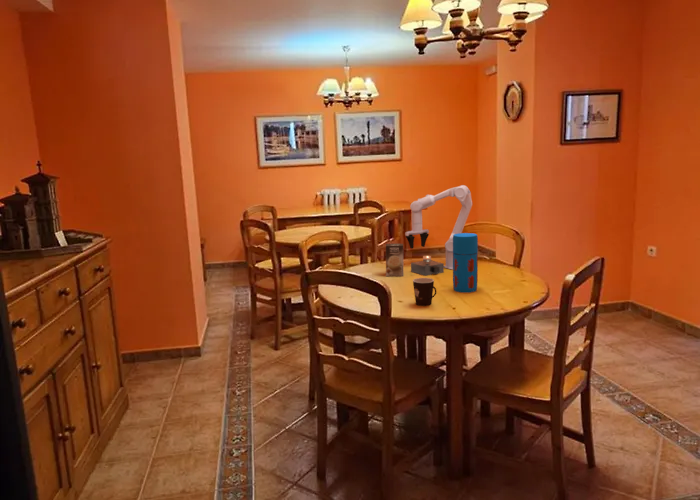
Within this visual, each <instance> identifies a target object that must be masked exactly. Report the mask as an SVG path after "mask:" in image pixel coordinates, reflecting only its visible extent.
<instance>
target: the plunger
mask: <svg viewBox="0 0 700 500" xmlns="http://www.w3.org/2000/svg"><path fill="white" fill-rule="evenodd" d="M431 260H432V256H431V255H423V256H422V261H424V262H426V264H428V262H430V261H431Z"/></svg>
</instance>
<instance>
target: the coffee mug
mask: <svg viewBox="0 0 700 500" xmlns="http://www.w3.org/2000/svg"><path fill="white" fill-rule="evenodd" d="M434 282H435V280H434V279H433V278H430V277H417V278H413V279H412V284H413V291H414V299H415V304H416V305H417V306H419V307H428V306H431V305H432V302H433V298H434V297H435V296H436V295H437V288H436V287H435V286H434ZM433 292H434V294H433Z"/></svg>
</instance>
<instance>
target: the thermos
mask: <svg viewBox="0 0 700 500" xmlns="http://www.w3.org/2000/svg"><path fill="white" fill-rule="evenodd" d="M478 246H479V241H478V234H476V233H472V232H471V233H470V232H469V233H468V232H464V233H463V232H462V233H459V234H454V235H453V269H452V287H453V288H452V289H453V291H454V292H456V293H457V292H458V293H463V294H466V293H474V292H477V291H478V275H479V273H478V270H479V269H478V268H479V267H478V263H479V262H478V261H479V258H478V257H479V253H478V251H479V249H478V248H479V247H478Z"/></svg>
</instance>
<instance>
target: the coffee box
mask: <svg viewBox="0 0 700 500" xmlns="http://www.w3.org/2000/svg"><path fill="white" fill-rule="evenodd" d="M385 277H404V243H385Z"/></svg>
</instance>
